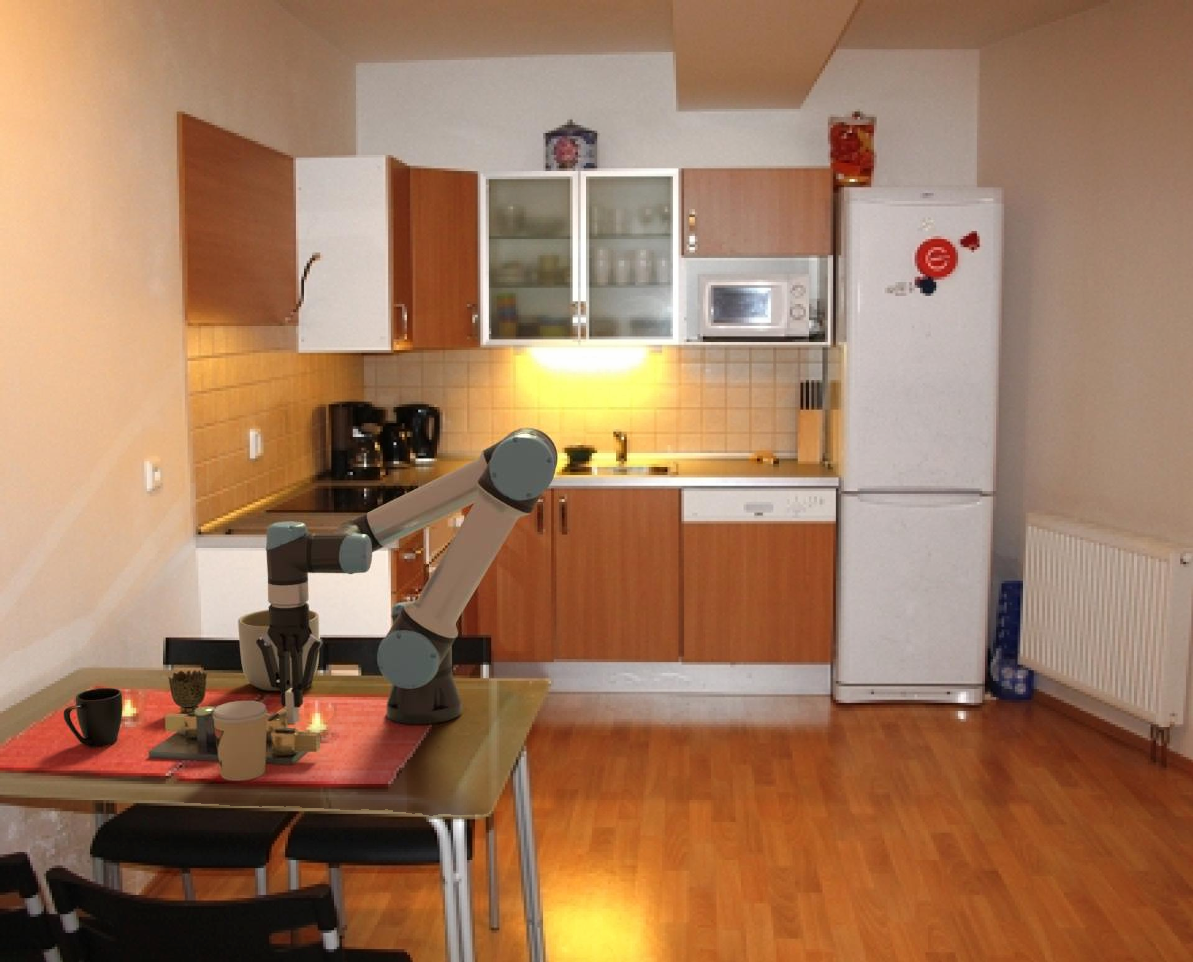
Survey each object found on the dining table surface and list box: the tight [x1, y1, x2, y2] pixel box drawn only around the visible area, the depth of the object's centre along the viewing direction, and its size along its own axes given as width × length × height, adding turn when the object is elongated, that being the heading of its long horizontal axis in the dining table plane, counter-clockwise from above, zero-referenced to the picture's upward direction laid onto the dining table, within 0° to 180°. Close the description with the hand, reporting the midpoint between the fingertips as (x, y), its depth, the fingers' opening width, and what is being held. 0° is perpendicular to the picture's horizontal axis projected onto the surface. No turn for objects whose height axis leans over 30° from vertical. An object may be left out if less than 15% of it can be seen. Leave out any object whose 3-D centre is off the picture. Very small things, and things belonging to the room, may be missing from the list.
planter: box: [237, 609, 320, 692], centre depth 286 cm, size 17×17×15 cm
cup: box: [168, 669, 208, 714], centre depth 268 cm, size 8×7×8 cm
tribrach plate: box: [148, 705, 322, 766], centre depth 246 cm, size 28×14×8 cm, turn 80°
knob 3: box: [271, 727, 321, 755], centre depth 240 cm, size 9×5×4 cm, turn 80°
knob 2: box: [266, 707, 290, 740], centre depth 251 cm, size 9×5×4 cm, turn 170°
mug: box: [63, 687, 123, 748], centre depth 249 cm, size 8×12×10 cm
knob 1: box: [164, 712, 197, 738], centre depth 251 cm, size 9×5×4 cm, turn 80°
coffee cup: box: [213, 700, 268, 782], centre depth 233 cm, size 9×9×12 cm
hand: (292, 722), depth 253 cm, fingers closed
